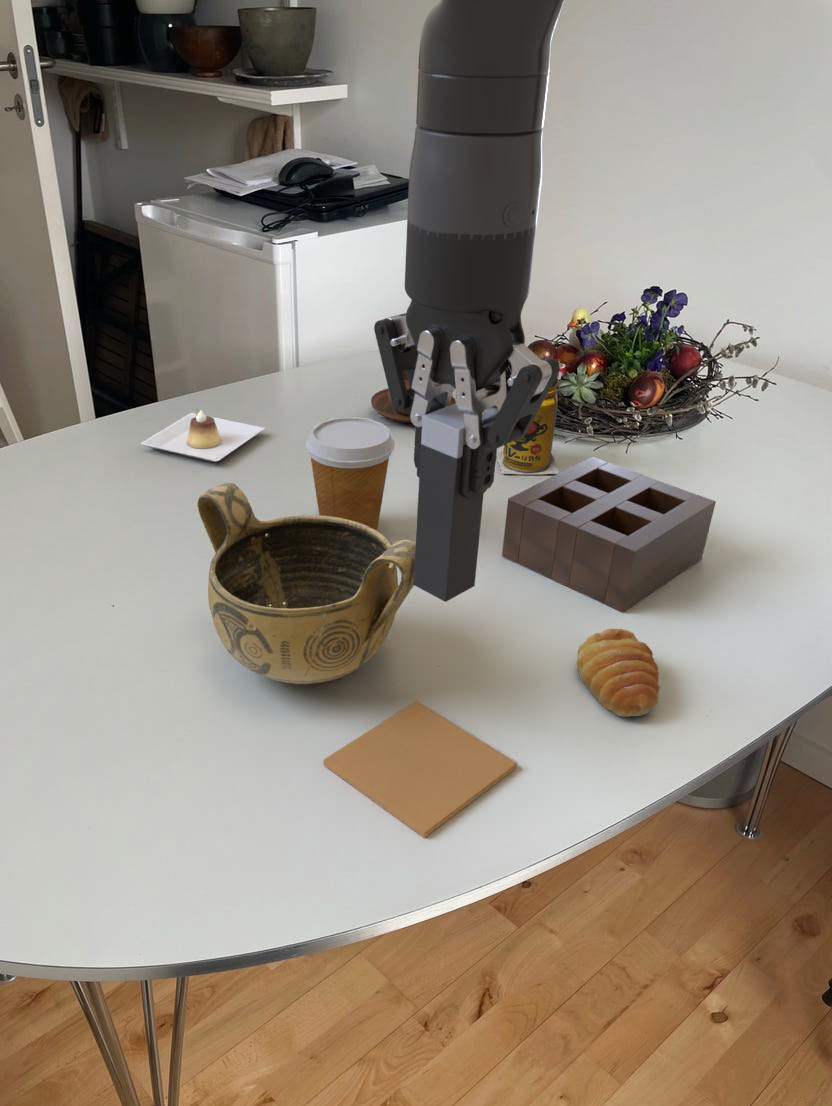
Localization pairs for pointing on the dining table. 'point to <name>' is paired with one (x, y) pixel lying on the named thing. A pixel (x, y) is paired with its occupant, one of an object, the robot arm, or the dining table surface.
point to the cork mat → (420, 767)
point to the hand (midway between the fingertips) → (451, 483)
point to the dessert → (202, 437)
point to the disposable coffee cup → (350, 467)
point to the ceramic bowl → (300, 588)
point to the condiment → (533, 443)
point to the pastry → (619, 672)
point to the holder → (607, 531)
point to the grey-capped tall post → (445, 510)
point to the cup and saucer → (386, 409)
